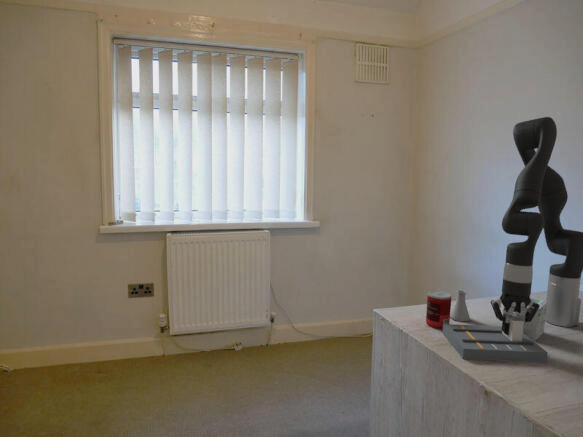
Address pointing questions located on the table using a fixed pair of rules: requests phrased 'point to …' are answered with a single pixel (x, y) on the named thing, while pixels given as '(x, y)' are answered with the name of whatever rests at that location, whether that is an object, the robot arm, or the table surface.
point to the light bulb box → (536, 321)
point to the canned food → (438, 309)
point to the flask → (460, 308)
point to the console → (491, 344)
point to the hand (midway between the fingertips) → (511, 333)
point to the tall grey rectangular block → (515, 328)
